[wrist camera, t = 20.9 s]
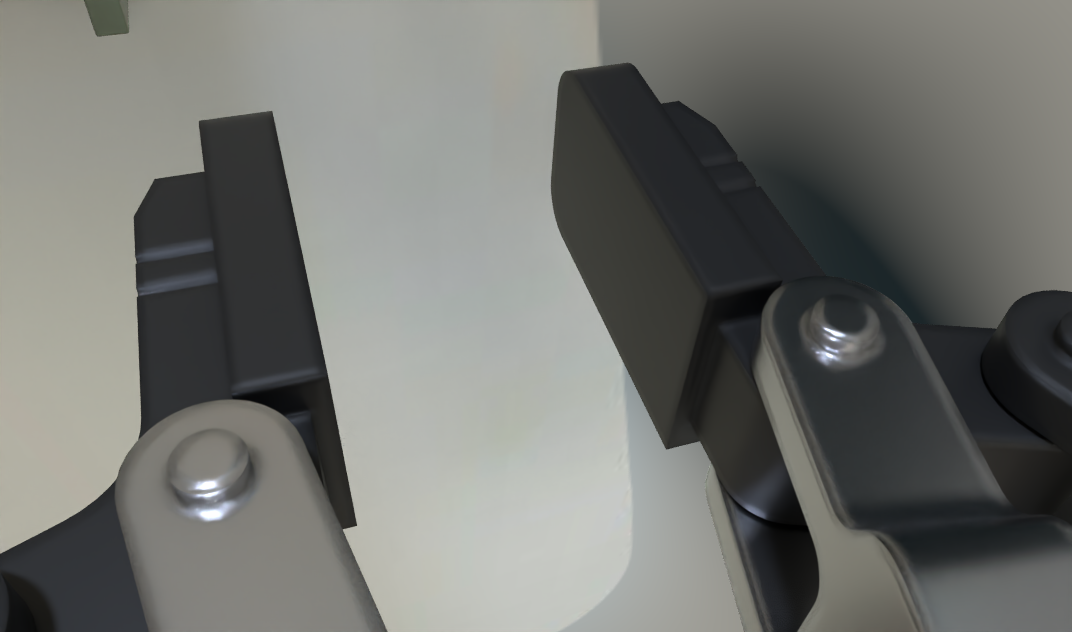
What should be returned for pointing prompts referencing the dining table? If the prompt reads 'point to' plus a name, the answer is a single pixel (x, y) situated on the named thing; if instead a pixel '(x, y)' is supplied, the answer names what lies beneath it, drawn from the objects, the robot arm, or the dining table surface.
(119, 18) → the drawer
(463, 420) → the dining table surface
